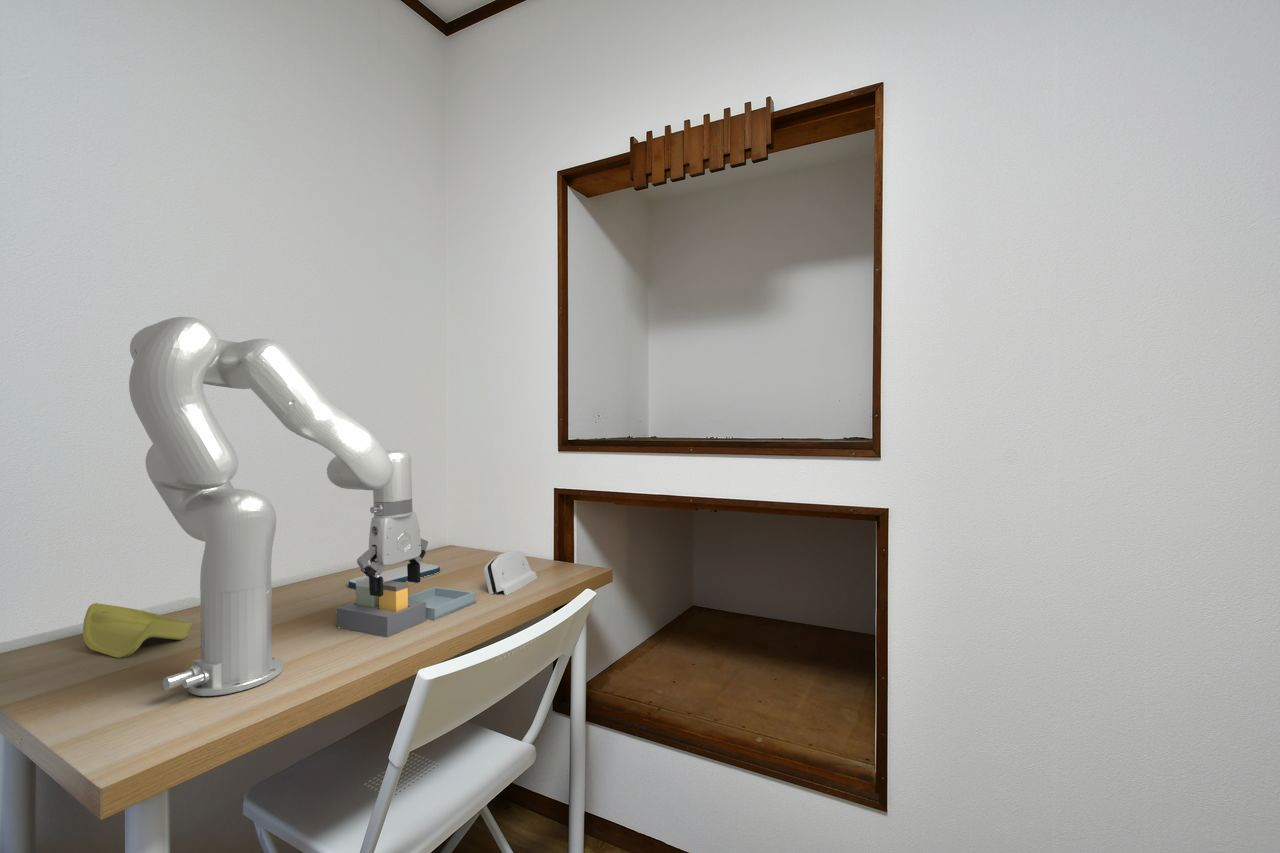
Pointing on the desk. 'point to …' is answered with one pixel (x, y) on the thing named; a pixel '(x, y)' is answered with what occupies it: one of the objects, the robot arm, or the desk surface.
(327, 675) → the desk surface
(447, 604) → the parts tray
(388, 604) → the block
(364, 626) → the block
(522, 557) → the grey slotted holder
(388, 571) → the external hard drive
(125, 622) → the plastic component
